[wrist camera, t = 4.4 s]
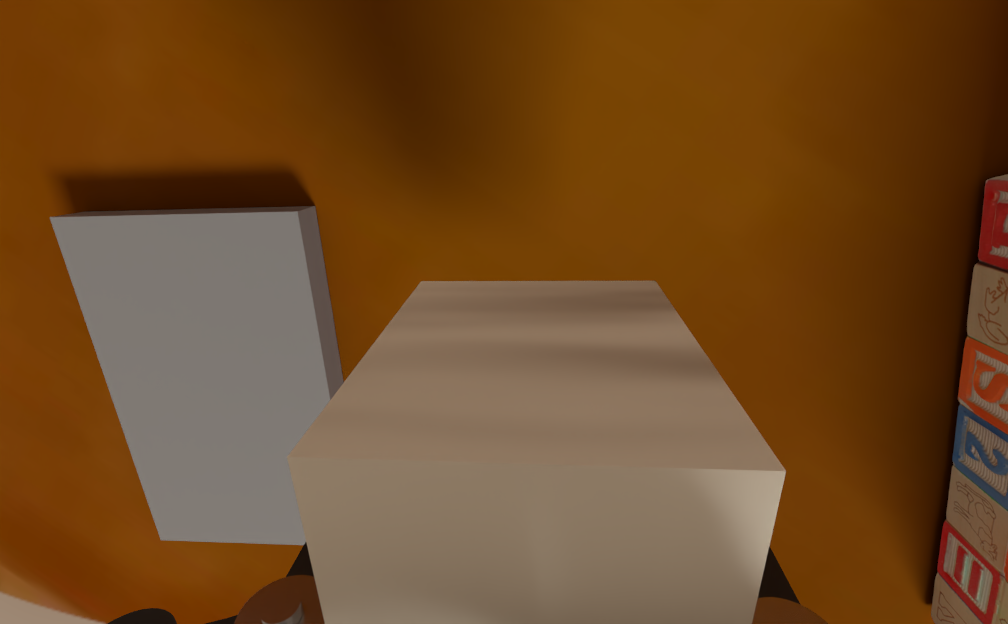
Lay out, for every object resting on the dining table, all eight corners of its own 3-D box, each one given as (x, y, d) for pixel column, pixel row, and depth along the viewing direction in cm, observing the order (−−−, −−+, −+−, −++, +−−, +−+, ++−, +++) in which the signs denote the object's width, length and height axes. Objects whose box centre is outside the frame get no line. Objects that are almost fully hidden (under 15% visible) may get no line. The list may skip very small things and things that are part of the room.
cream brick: (421, 281, 11) (287, 457, 5) (654, 281, 10) (785, 470, 5) (446, 556, 14) (378, 859, 8) (629, 564, 13) (692, 890, 8)
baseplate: (83, 211, 20) (49, 217, 19) (314, 205, 20) (297, 211, 18) (181, 518, 26) (160, 540, 24) (366, 523, 25) (355, 546, 24)
